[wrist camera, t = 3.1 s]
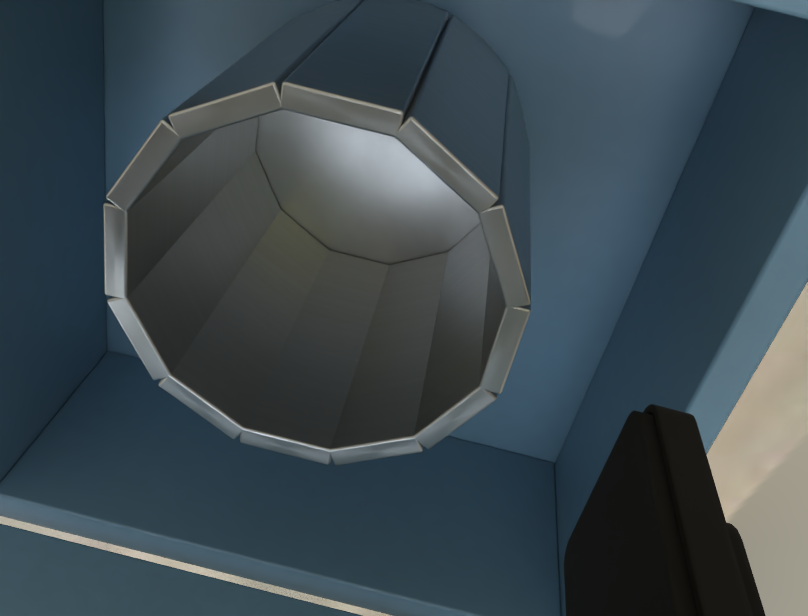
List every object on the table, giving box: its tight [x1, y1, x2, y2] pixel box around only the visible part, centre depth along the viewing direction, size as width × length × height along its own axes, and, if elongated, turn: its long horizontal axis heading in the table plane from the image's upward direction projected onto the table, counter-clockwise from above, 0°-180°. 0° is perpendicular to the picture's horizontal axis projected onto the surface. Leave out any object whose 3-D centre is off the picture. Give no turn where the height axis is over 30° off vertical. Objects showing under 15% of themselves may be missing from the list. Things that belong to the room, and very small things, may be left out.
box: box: [0, 0, 808, 616], centre depth 17 cm, size 16×16×7 cm
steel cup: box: [103, 0, 531, 465], centre depth 15 cm, size 7×7×8 cm
